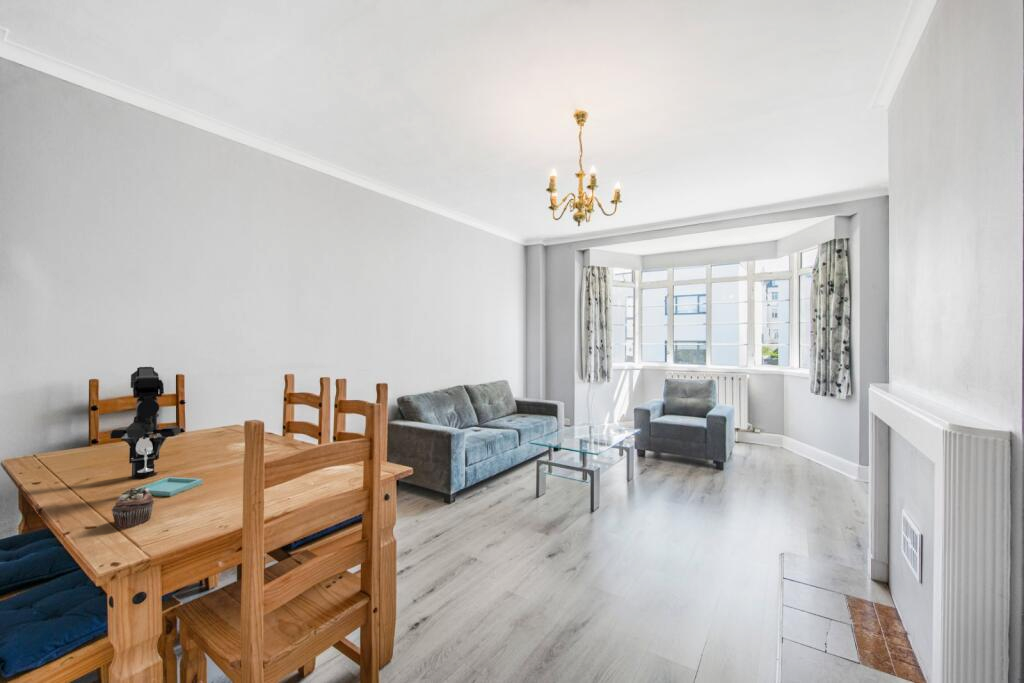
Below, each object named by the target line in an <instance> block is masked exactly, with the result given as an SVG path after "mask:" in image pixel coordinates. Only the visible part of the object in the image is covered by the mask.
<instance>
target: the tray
mask: <svg viewBox="0 0 1024 683" xmlns="http://www.w3.org/2000/svg"><path fill="white" fill-rule="evenodd" d="M202 483H203V478H193V477H191V478H188V477H174V476H168V477H165V478H162V479H159V480H157V481H153V482H151V483H148V484H145V485H143V486H139V487H137V488H135V490H138V489H140V488H145V487H146V488H149V493H150V494H151V495H154V496H153V497H163V496H169V497H168V498H171V497H174V496H176V495H178V494H177V493H179V494H181V493H183V492H182V491H184V492H185V490H186V491H188V490H191V489H194V488H196V487H198V486H201V485H203V484H202ZM200 484H201V485H200ZM197 485H198V486H197ZM195 486H196V487H195ZM190 488H191V489H190ZM187 489H188V490H187ZM180 492H181V493H180ZM175 494H176V495H175ZM173 495H174V496H173ZM170 496H171V497H170Z"/></svg>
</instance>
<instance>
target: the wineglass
mask: <svg viewBox="0 0 1024 683" xmlns="http://www.w3.org/2000/svg"><path fill="white" fill-rule="evenodd" d="M154 438H156V436H155V435H154V434H153V435H147V436H144V437H141V438H137V441H136V445H135V450H136V452H137V453H138V454H141V455H145V456H144V460H145V467H144V468H143V469H141V470H138V471H137V472H139V473H142V472H149V471H152V470H154V471H155V468H154V469H151V468H147V466H146V462H147V458H148V457H147V455H148V454H151V453H152V452H154V447H155V441H154Z"/></svg>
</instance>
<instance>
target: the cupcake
mask: <svg viewBox="0 0 1024 683" xmlns="http://www.w3.org/2000/svg"><path fill="white" fill-rule="evenodd" d="M135 489H136V488H134V487H131V488H130V490H127V491H124V492H122V493H121V495H120V496H119V498H118V499H116V502H115V505H114V506H113V507H112V508H111V513H112V518H113V520H114V526H115V528H118V527H126V528H131V527H130V526H133V527H137V526H140V525H139V524H141V525H143V524H145V522H146V523H148V522H147V521H150V520H151V517H152V512H153V507H154V504H155V503H154V502H155V501H154V496H152V495H151V494H150V493H149V488H146V487H145V488H140V489H138V490H135ZM149 519H150V520H149ZM136 525H137V526H136Z"/></svg>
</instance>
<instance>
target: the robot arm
mask: <svg viewBox="0 0 1024 683" xmlns="http://www.w3.org/2000/svg"><path fill="white" fill-rule="evenodd" d="M136 369H137V370H135V371H134V372H133V373H131V374H130V388H131V389H132V397H133V399H136V401H135V402H136V403H135V404H136V405H135V406H136V410H135V412H136V413H135V414H136V415H135V416H134V417H133V422H132V423H131V424H130V425H129V426H128V427H127V426H126V427H123V426H122V427H117V428H115V429H112V430H111V431H110V433H109V439H116V440H117V439H120V440H121V441H123V442H126V443H127V444H128V447H129V449H128V450H129V451H128V454H129V455H128V462H129V464H131V475H129V476H127V478H128V479H136V478H137V479H139V480H143V479H146V478H150V477H153V476H156V475H158V472H155V461H158V460H159V459H160V451H161V449H162V446H163V445H164V443H165V441H166V439H167V438H171V437H176V436H178V435H179V434H181V432H182V431H181V427H180V426H179V425H171V426H170V425H168V426H165V427H163V428H159V426H160V425H159V424H158V418H159V416H160V415H159V414H160V413H158V412H159V410H160V404H159V403H158V398H159V397H163V396H162V395H164V394H165V392H164V391H165V390H164V382H163V380H162V379H160V378H159V373H158V372H157V371H156V370H155V368H154V366H153V367H152V366H139V367H137V368H136ZM147 435H153V436H154V435H156V436H155V438H154V441H155V447H154V452H152V453H151V454H148V455H147V457H148V458H147V462H146V466H147V468H151V469H154V470H152V471H149V472H142V473H139V472H137V471H138V470H141V469H143V468H144V467H145V460H144V456H145V455H141V454H138V453H137V452H136V450H135V445H136V441H137V438H141V437H144V436H147Z"/></svg>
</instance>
